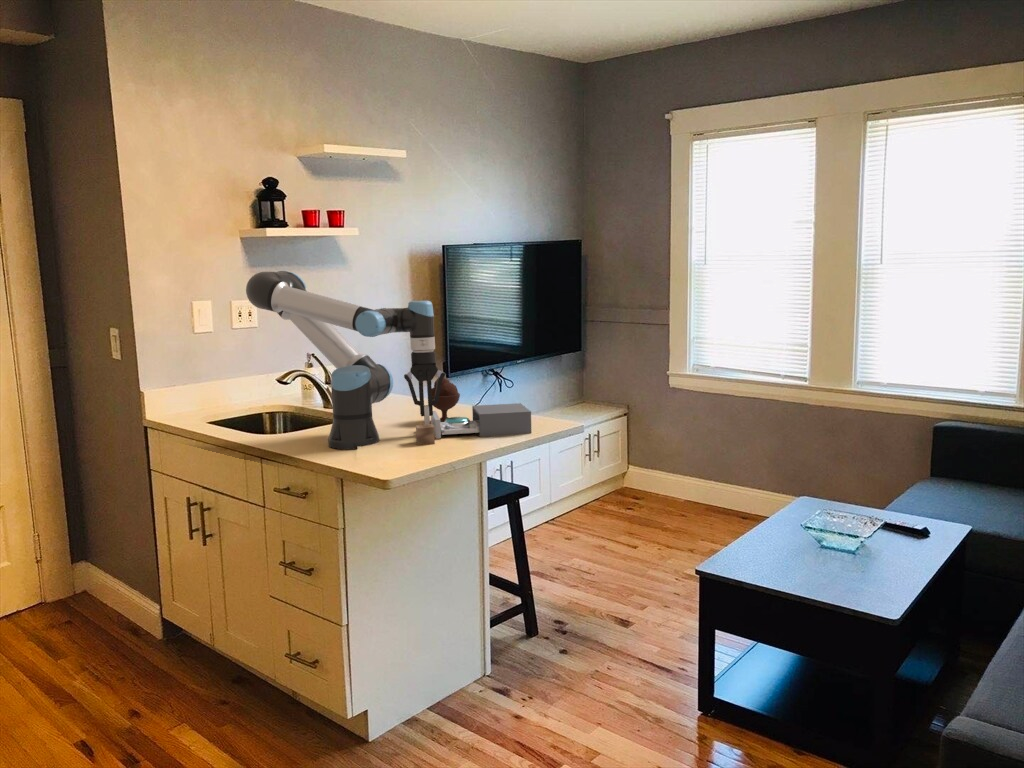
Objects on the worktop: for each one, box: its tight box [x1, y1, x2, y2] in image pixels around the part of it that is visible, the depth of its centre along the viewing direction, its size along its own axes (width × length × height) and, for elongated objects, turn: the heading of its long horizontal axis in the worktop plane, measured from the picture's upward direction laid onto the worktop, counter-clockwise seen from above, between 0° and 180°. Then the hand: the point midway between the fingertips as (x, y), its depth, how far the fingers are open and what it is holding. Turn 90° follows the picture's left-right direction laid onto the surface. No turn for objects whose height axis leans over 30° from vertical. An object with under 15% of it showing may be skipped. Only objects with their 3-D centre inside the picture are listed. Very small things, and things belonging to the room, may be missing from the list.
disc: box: [445, 416, 471, 430], centre depth 260 cm, size 8×8×3 cm
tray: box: [430, 410, 480, 440], centre depth 260 cm, size 16×17×6 cm
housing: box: [471, 402, 532, 438], centre depth 262 cm, size 16×17×7 cm
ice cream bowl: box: [432, 377, 461, 422], centre depth 279 cm, size 11×11×15 cm
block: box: [415, 424, 436, 446], centre depth 246 cm, size 5×5×5 cm
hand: (427, 426), depth 258 cm, fingers closed
